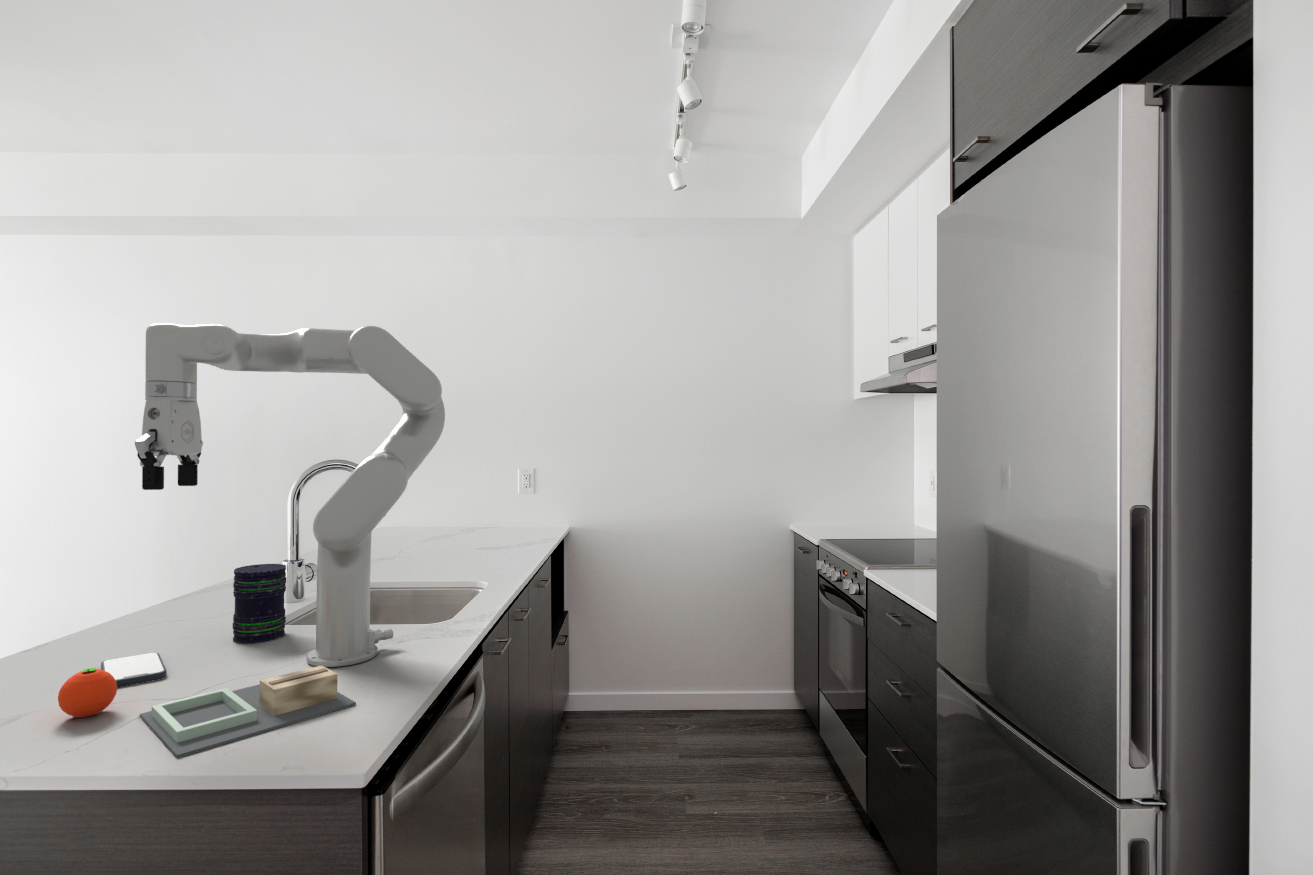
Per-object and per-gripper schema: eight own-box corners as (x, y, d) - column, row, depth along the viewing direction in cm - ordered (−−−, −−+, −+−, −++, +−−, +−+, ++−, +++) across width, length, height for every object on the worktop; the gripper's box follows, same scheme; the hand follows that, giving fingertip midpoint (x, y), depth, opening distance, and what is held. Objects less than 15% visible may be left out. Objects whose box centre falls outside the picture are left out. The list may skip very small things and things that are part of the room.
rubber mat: (304, 675, 119) (304, 673, 119) (355, 704, 106) (355, 702, 106) (139, 716, 101) (139, 713, 101) (176, 757, 88) (176, 754, 88)
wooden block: (321, 688, 111) (321, 664, 111) (337, 697, 108) (337, 672, 108) (259, 705, 104) (259, 678, 104) (273, 715, 100) (274, 688, 100)
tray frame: (226, 696, 108) (227, 687, 108) (256, 720, 99) (256, 710, 99) (151, 715, 100) (151, 705, 100) (176, 742, 91) (177, 731, 91)
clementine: (61, 710, 103) (62, 665, 103) (118, 700, 107) (119, 656, 107) (54, 728, 96) (54, 680, 96) (115, 717, 100) (116, 671, 100)
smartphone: (99, 669, 123) (102, 692, 111) (100, 660, 123) (103, 682, 111) (159, 659, 129) (167, 680, 117) (159, 651, 129) (167, 670, 117)
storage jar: (292, 636, 142) (293, 567, 142) (241, 647, 135) (242, 574, 135) (276, 627, 149) (277, 562, 149) (225, 637, 141) (226, 567, 141)
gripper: (162, 389, 110) (162, 491, 110) (220, 396, 128) (219, 484, 128) (114, 389, 110) (114, 491, 110) (179, 396, 127) (178, 484, 127)
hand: (171, 487), depth 119 cm, fingers open, 9 cm apart
